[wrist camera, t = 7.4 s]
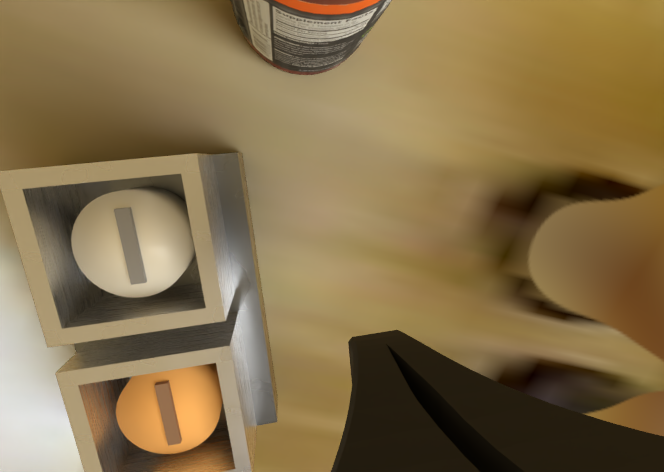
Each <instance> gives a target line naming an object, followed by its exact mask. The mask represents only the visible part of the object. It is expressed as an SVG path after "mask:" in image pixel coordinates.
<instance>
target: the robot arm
mask: <svg viewBox="0 0 664 472" xmlns="http://www.w3.org/2000/svg"><path fill="white" fill-rule="evenodd" d="M348 343H349V354H350V365H351V376H352V392H351V398H350V405H349V410H348V415H347V420H346V424H345V428H344V432H343V436H342V439H341V443H340V446H339V449H338V452H337V455H336V458H335V462H334V465H333V468H332V470H331V472H664V437H663V436H659V435H655V434H651V433H646V432H643V431H639V430H635V429H631V428H628V427H624V426H621V425H617V424H613V423H610V422H606V421H603V420H600V419H597V418H594V417H590V416H587V415H584V414H581V413H578V412H574V411H571V410H568V409H565V408H562V407H559V406H556V405H553V404H551V403H548V402H545V401H542V400H540V399H537V398H535V397H532V396H530V395H527V394H524V393H522V392H519V391H517V390H514V389H512V388H509V387H507V386H505V385H502V384H500V383H498V382H496V381H493V380H491V379H489V378H487V377H485V376H483V375H481V374H479V373H477V372H474V371H472V370H470V369H468V368H466V367H464V366H462V365H460V364H459V363H457V362H455V361H453V360H451V359H449V358H447V357H445V356H444V355H442V354H440V353H438V352H436V351H435V350H433V349H431V348H429V347H428V346H426V345H424V344H422V343H421V342H419V341H417V340H415V339H414V338H412V337H410V336H408V335H406V334H405V333H403V332H401V331H399V330H394V331H388V332H381V333H375V334H369V335H363V336H357V337H352V338H351V339H350V341H349V342H348Z"/></svg>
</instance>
